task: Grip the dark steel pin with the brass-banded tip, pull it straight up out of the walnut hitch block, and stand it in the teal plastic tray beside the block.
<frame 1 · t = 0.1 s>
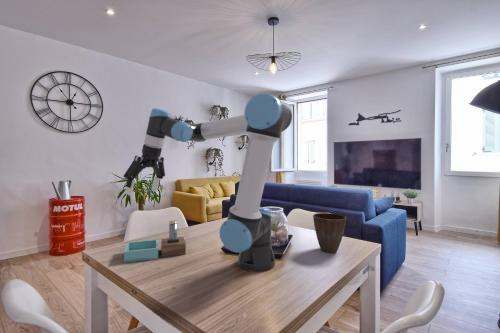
hand: (141, 192, 112), 28 cm above the table, tool tilted 20°, fingers open, 13 cm apart
steel pin: (173, 236, 118), in the hitch block
pin tray: (142, 255, 114), on the table
hitch block: (173, 251, 118), on the table
plant pot: (329, 250, 122), on the table
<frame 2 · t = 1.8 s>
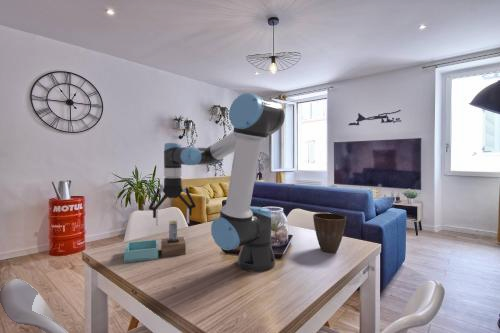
hand: (172, 223, 118), 13 cm above the table, tool pointing down, fingers open, 13 cm apart
nothing on the table moved.
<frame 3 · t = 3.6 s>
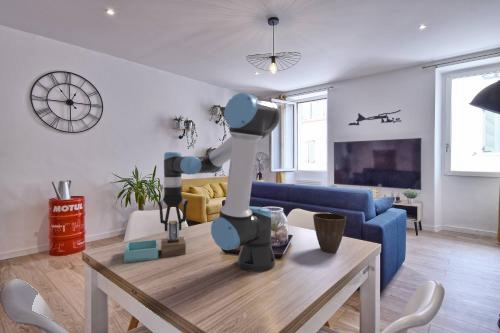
hand: (173, 237, 118), 7 cm above the table, tool pointing down, fingers closed on steel pin, 3 cm apart
steel pin: (173, 236, 118), in the hitch block, touching gripper
everything else where it was.
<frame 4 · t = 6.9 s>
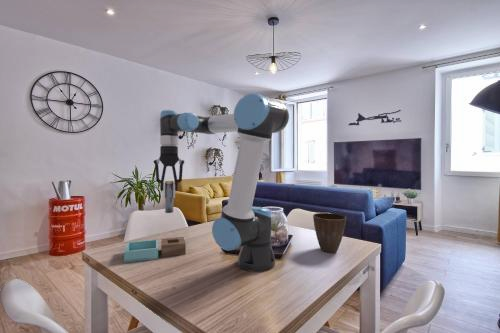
hand: (169, 197, 117), 25 cm above the table, tool pointing down, fingers closed on steel pin, 3 cm apart
steel pin: (169, 196, 117), point 25 cm above the table, touching gripper
everything else where it was.
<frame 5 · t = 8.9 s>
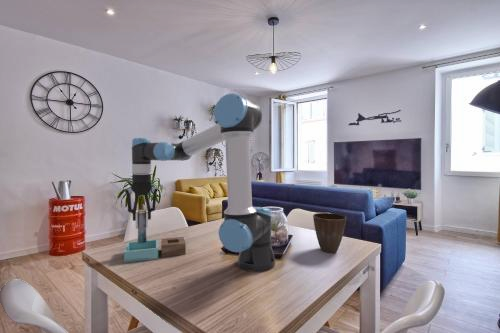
hand: (142, 227, 113), 12 cm above the table, tool pointing down, fingers closed on steel pin, 3 cm apart
steel pin: (142, 226, 113), point 13 cm above the table, touching gripper
everything else where it was.
when the fingers open (8 cm above the table, at t = 10.4 s): steel pin stays where it is, resting on pin tray.
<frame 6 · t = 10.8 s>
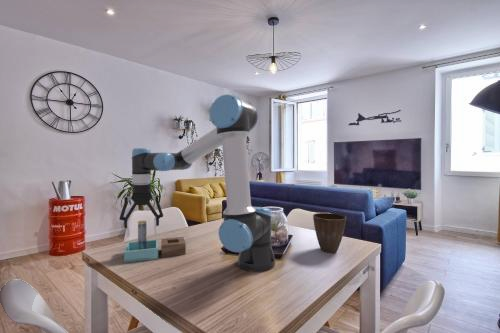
hand: (142, 234, 113), 9 cm above the table, tool pointing down, fingers open, 10 cm apart
steel pin: (142, 237, 114), in the pin tray, point 8 cm above the table
everything else where it was.
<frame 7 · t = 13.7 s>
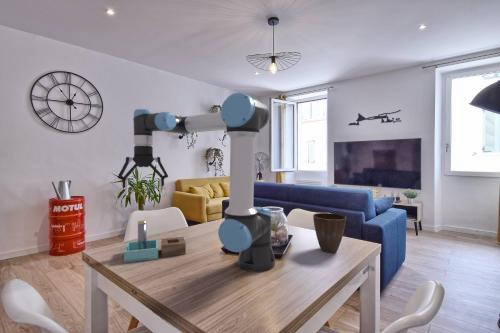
hand: (143, 194, 113), 27 cm above the table, tool pointing down, fingers open, 13 cm apart
nothing on the table moved.
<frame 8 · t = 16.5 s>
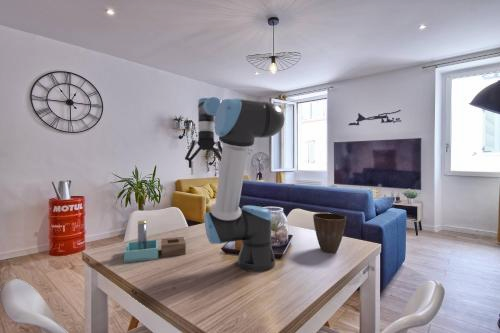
hand: (206, 174, 127), 35 cm above the table, tool pointing down, fingers open, 13 cm apart
nothing on the table moved.
at the end: steel pin inside the target area on the pin tray (0.0 cm from its centre), point 8.0 cm above the pin tray's base; steel pin touching pin tray; the gripper is holding nothing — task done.
